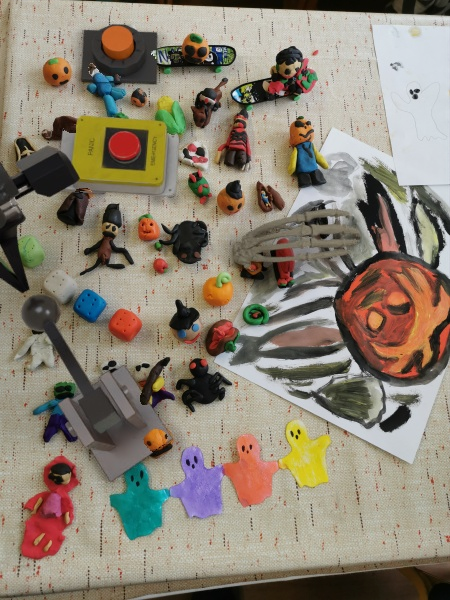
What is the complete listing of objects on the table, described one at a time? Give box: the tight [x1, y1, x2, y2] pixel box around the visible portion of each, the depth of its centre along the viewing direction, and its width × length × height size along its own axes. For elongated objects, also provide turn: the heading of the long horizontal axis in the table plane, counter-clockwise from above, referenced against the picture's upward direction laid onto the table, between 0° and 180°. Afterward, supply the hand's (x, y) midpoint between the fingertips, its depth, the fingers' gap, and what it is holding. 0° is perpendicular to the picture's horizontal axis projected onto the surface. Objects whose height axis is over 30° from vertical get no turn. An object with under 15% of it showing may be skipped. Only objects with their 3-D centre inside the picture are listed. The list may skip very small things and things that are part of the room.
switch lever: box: [20, 293, 122, 434], centre depth 51 cm, size 15×4×4 cm, turn 35°
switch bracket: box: [57, 364, 173, 483], centre depth 55 cm, size 10×8×17 cm
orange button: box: [102, 26, 134, 60], centre depth 74 cm, size 4×4×2 cm
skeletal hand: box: [232, 208, 362, 272], centre depth 68 cm, size 6×17×6 cm, turn 103°
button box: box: [80, 23, 158, 85], centre depth 75 cm, size 10×8×2 cm
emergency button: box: [59, 115, 180, 198], centre depth 70 cm, size 9×4×15 cm
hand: (25, 290), depth 53 cm, fingers closed
